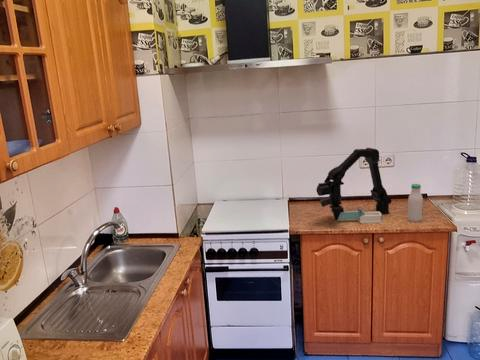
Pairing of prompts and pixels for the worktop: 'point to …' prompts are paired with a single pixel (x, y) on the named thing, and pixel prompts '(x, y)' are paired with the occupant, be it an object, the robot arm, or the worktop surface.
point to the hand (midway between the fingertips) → (335, 219)
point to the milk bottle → (415, 204)
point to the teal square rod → (350, 215)
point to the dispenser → (370, 217)
